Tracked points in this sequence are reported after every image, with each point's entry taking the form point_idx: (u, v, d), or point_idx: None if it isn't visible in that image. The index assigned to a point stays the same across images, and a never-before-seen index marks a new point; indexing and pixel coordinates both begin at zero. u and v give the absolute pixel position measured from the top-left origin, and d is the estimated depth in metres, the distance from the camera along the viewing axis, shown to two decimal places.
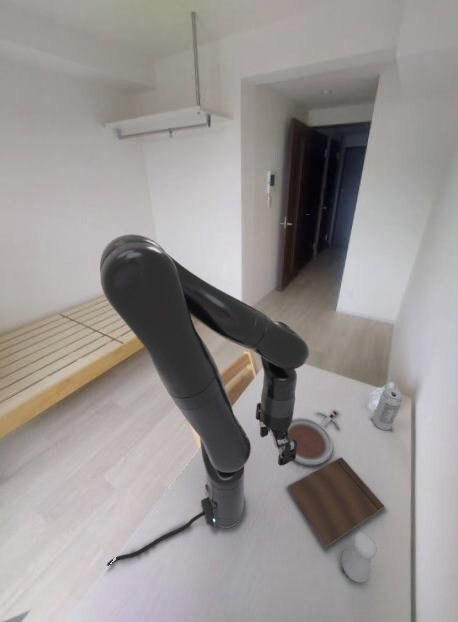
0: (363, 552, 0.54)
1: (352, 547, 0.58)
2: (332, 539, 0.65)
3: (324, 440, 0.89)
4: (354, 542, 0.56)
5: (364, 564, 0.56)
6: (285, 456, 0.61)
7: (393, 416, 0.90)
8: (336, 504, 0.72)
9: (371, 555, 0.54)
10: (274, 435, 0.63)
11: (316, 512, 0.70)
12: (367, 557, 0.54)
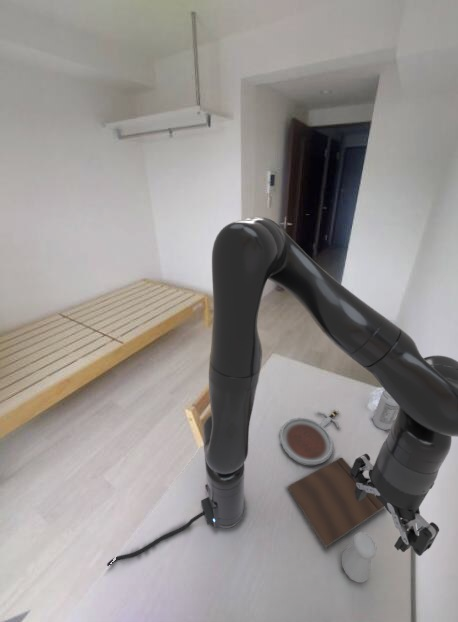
0: (363, 552, 0.54)
1: (352, 547, 0.58)
2: (332, 539, 0.65)
3: (324, 440, 0.89)
4: (354, 542, 0.56)
5: (364, 564, 0.56)
6: (418, 546, 0.42)
7: (393, 416, 0.90)
8: (336, 504, 0.72)
9: (371, 555, 0.54)
10: (396, 512, 0.44)
11: (316, 512, 0.70)
12: (367, 557, 0.54)
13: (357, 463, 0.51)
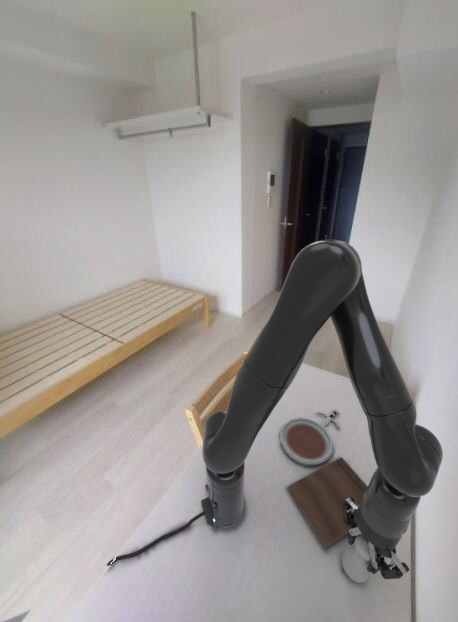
0: (364, 553, 0.54)
1: (353, 548, 0.58)
2: (332, 539, 0.65)
3: (324, 440, 0.89)
4: (355, 543, 0.56)
5: (365, 565, 0.56)
6: (386, 574, 0.50)
7: None
8: (336, 504, 0.72)
9: None
10: (375, 549, 0.51)
11: (316, 512, 0.70)
12: (368, 558, 0.54)
13: (344, 506, 0.57)
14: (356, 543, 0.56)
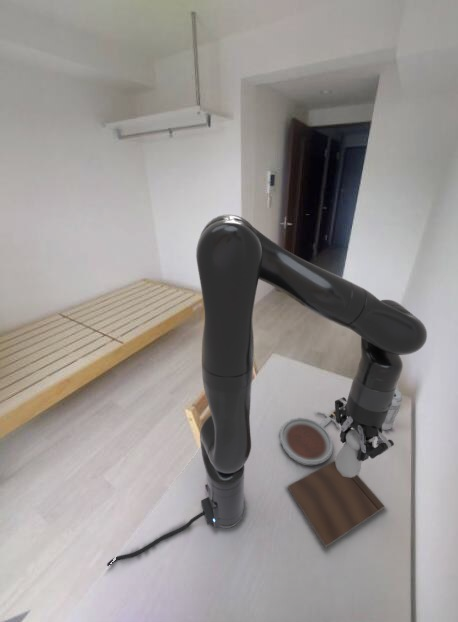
0: (355, 442, 0.59)
1: (345, 444, 0.63)
2: (332, 539, 0.65)
3: (324, 440, 0.89)
4: (347, 436, 0.61)
5: (356, 457, 0.61)
6: (373, 452, 0.55)
7: (393, 416, 0.90)
8: (336, 504, 0.72)
9: None
10: (363, 432, 0.56)
11: (316, 512, 0.70)
12: (358, 446, 0.59)
13: (336, 404, 0.62)
14: (347, 436, 0.61)
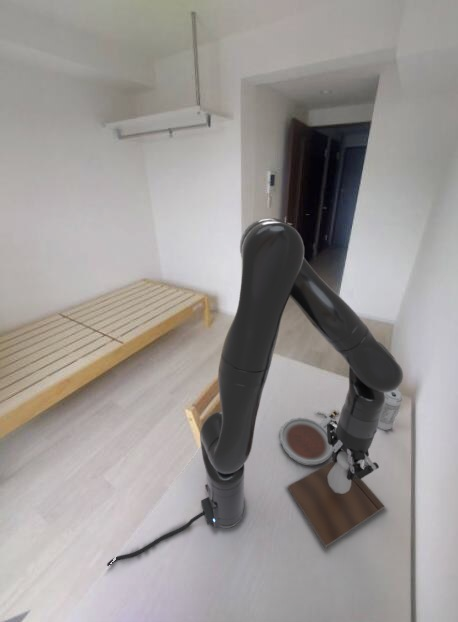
0: (344, 463, 0.65)
1: (336, 464, 0.69)
2: (332, 539, 0.65)
3: (324, 440, 0.89)
4: (337, 457, 0.67)
5: (346, 476, 0.67)
6: (361, 474, 0.61)
7: (393, 416, 0.90)
8: (336, 504, 0.72)
9: None
10: (352, 455, 0.61)
11: (316, 512, 0.70)
12: (348, 467, 0.65)
13: (328, 427, 0.68)
14: (338, 457, 0.67)
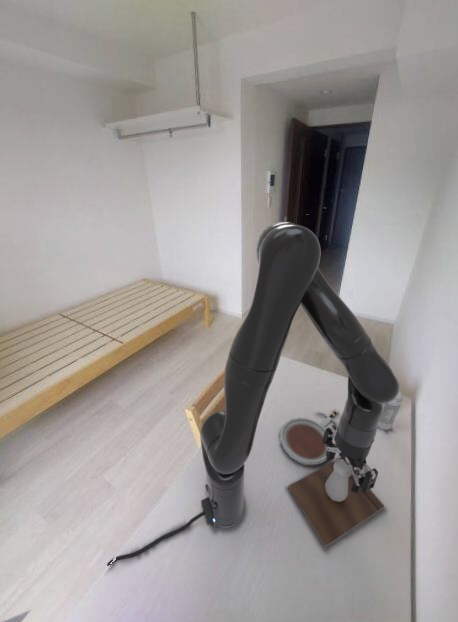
0: (341, 471, 0.67)
1: (333, 472, 0.71)
2: (332, 539, 0.65)
3: None
4: (334, 466, 0.69)
5: (342, 484, 0.69)
6: (364, 485, 0.60)
7: (393, 416, 0.90)
8: (336, 504, 0.72)
9: (347, 474, 0.67)
10: (351, 463, 0.62)
11: (316, 512, 0.70)
12: (344, 475, 0.67)
13: (326, 432, 0.69)
14: (334, 465, 0.69)
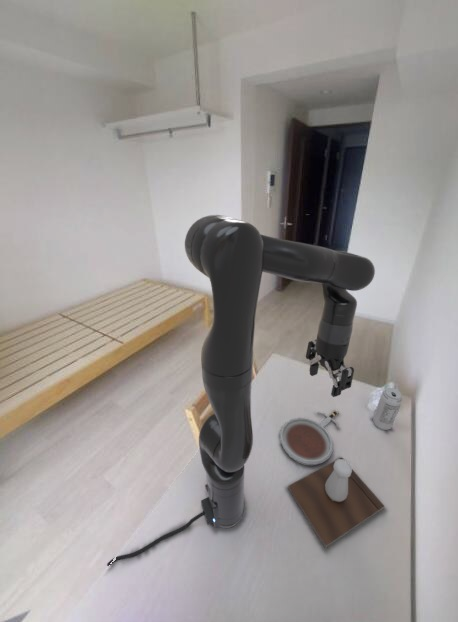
0: (341, 471, 0.67)
1: (333, 472, 0.71)
2: (332, 539, 0.65)
3: (324, 440, 0.89)
4: (334, 466, 0.69)
5: (342, 484, 0.69)
6: (341, 383, 0.64)
7: (393, 416, 0.90)
8: (336, 504, 0.72)
9: (347, 474, 0.67)
10: (329, 365, 0.66)
11: (316, 512, 0.70)
12: (344, 475, 0.67)
13: (309, 345, 0.73)
14: (334, 465, 0.69)
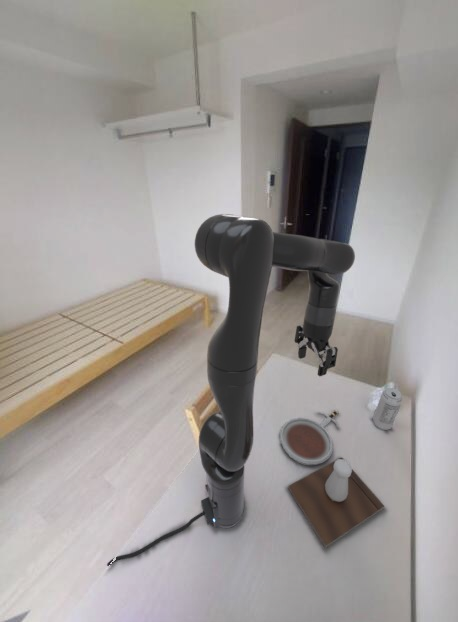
0: (341, 471, 0.67)
1: (333, 472, 0.71)
2: (332, 539, 0.65)
3: (324, 440, 0.89)
4: (334, 466, 0.69)
5: (342, 484, 0.69)
6: (326, 362, 0.70)
7: (393, 416, 0.90)
8: (336, 504, 0.72)
9: (347, 474, 0.67)
10: (316, 346, 0.72)
11: (316, 512, 0.70)
12: (344, 475, 0.67)
13: (297, 329, 0.78)
14: (334, 465, 0.69)
